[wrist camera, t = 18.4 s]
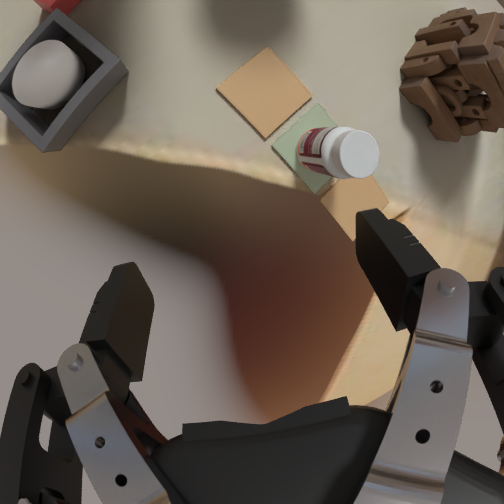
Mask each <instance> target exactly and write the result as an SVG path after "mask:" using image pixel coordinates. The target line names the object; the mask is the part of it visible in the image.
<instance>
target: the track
mask: <svg viewBox="0 0 504 504" xmlns="http://www.w3.org/2000/svg"><path fill="white" fill-rule="evenodd" d="M216 89H217V90H218V91H219V92H220V93H221V94H222V95H223V96H224V97H225V98H226V99H227V100H228V101H229V102H230V103H231V104H232V105H233V106H234V107H235V108H236V109H237V110H238V111H239V112H240V113H241V114H242V115H243V116H244V117H245V118H246V119H247V120H248V121H249V122H250V123H251V124H252V125H253V126H254V127H255V128H256V129H257V131H258V132H259V133H260V134H261V135H262V136H263V137H264V138H266V137H268V136H269V135H270V134H271V133H272V132H273V131H274V130H275V129H276V128H277V127H278V126H279V125H280V124H282V123H283V122H284V121H285V120H286V119H287V118H288V117H289V116H290V115H292V114H293V113H294V112H295V111H296V110H297V109H298V108H299V107H301V106H302V105H303V104H304V103H305V102H306V101H307V100H309V99H310V98H311V97H312V96H313V95H312V94H311V93H310V92H309V91H308V89H307V88H306V87H305V86H304V85H303V84H302V83H301V81H300V80H299V79H298V78H297V77H296V76H295V75H294V74H293V72H292V71H291V70H290V69H289V68H288V67H287V66H286V65H285V64H284V63H283V62H282V61H281V60H280V58H279V57H278V56H277V55H276V54H275V53H274V52H273V51H272V50H271V49H270V48H269V47H266V48H265V49H264V50H262V51H261V52H260V53H258V54H257V55H256V56H255V57H253V58H252V59H251V60H249V61H248V62H247V63H246V64H244V65H243V66H242V67H241V68H239V69H238V70H237V71H236V72H235V73H233V74H232V75H231V76H230V77H229V78H227V79H226V80H225V81H224V82H223V83H221V84H220V85H219V86H218V87H217V88H216ZM322 127H338V126H337V125H336V124H335V123H334V121H333V120H332V119H331V117H330V116H329V115H328V114H327V112H326V111H325V110H324V109H323V107H322V106H321V105H320V104H319V103H317V104H316V105H315V106H314V107H313V108H312V109H310V110H309V111H308V112H307V113H306V114H305V115H304V116H303V117H302V118H300V119H299V120H298V121H297V122H296V123H295V124H294V125H293V126H292V127H291V128H290V129H288V130H287V131H286V132H285V133H284V134H283V135H282V136H281V137H280V138H279V139H278V140H277V141H276V142H275V143H273V144H272V145H271V146H272V147H273V148H274V149H275V150H276V151H277V152H278V153H279V154H280V155H281V157H282V158H283V159H284V160H285V161H286V162H287V163H288V164H289V166H290V167H291V168H292V169H293V170H294V171H295V172H296V173H297V175H298V176H299V177H300V178H301V179H302V180H303V182H304V183H305V184H306V185H307V186H308V187H309V189H310V190H311V191H312V192H313V193H314V194H315V193H316V192H317V191H318V190H319V189H320V188H321V187H322V186H323V185H324V184H325V183H326V182H327V181H328V180H329V179H330V178H331V177H332V176H328V175H324V174H320V173H316V172H312V171H310V170H308V169H306V168H305V167H304V166H303V165H302V164H301V163H300V162H299V160H298V157H297V152H296V146H297V142H298V140H299V138H300V136H301V135H302V134H303V133H304V132H305V131H307V130H309V129H313V128H322ZM319 200H320V202H321V203H322V204H323V205H324V206H325V208H326V209H327V210H328V212H329V213H330V214H331V215H332V217H333V218H334V219H335V220H336V222H337V223H338V224H339V225H340V227H341V228H342V229H343V230H344V232H345V233H346V234H347V235H348V237H349V238H350V239H351V241H354V240H355V238H356V213H357V212H359V211H363V210H368V209H373V208H378V209H379V210H380V211H381V210H382V209H383V208H384V207H385V206H386V205H387V204H388V203H389V201H388V199H387V198H386V196H385V194H384V193H383V191H382V190H381V188H380V186H379V185H378V183H377V182H376V180H375V179H374V177H373V176H372V174H371V175H370V176H368V177H366V178H362V179H357V178H350V179H339V180H338V181H337V182H336V183H335V184H334V185H333V186H332V187H331V188H330V189H329V190H328V191H327V192H326V193H325V194H324V195H323V196H322V197H321V198H320V199H319Z"/></svg>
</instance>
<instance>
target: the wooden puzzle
mask: <svg viewBox="0 0 504 504" xmlns="http://www.w3.org/2000/svg"><path fill="white" fill-rule="evenodd" d="M415 37H416V38H417V39H418V42H415V43H414V45H413V46H412V48H411V49H410V51H409V52H408V53H407V55H406V56H405V59H406V61H405V62H404V64H403V65H402V66H401V68H400V70H401V71H402V73H403V74H404V75H405V76H406V78H407V79H405V80H404V82H403V83H402V85H401V86H400V88H399V90H400V91H401V92H402V93H403V95H404V96H405V97H406V98H407V100H408V101H409V102H410V103H412V104H416V105H418V106H420V107H422V108H423V109H424V110H426V111H427V112H428V114H429V115H430V116H431V118H432V119H431V121H430V123H429V125H428V128H429V130H430V131H431V132H432V134H433V135H434V137H435V138H436V140H443V141H451V142H458V141H459V139H460V137H461V135H463V136H470V135H474V134H477V133H478V132H480V131H489V132H497V130H498V128H504V14H503V13H498V14H497V12H491V13H485V14H477V13H476V11H475V10H474V9H472V10H467V9H466V7H464V8H460V9H456V10H451V11H448V12H447V13H445V14H442V15H440V17H437V18H434V19H433V20H432V22H431V23H430V25H429V26H428V27H426V28H423V29H419V31H418V32H417V33H416V35H415ZM482 91H484V92H485V93H486V94H487V95H486V94H480V93H481V92H482Z"/></svg>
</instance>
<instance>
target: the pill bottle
mask: <svg viewBox="0 0 504 504" xmlns="http://www.w3.org/2000/svg"><path fill="white" fill-rule="evenodd" d="M296 152H297V157H298V160H299V162H300V163H301V164H302V165H303V166H304V167H305V168H306V169H308V170H310V171H312V172H316V173H320V174H324V175H328V176H332V177H336V178H339V179H350V178H357V179H362V178H366V177H368V176H370V175H371V174H372V173H373V172H374V171H375V169H376V168H377V166H378V162H379V148H378V145H377V143H376V141H375V139H374V138H373V137H372V136H371V135H370V134H369V133H367V132H365V131H361V130H355V129H353V128H350V127H345V126H340V127H322V128H313V129H309V130H307V131H305V132H304V133H303V134H302V135H301V136H300V138H299V140H298V142H297V146H296Z"/></svg>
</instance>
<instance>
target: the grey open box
mask: <svg viewBox="0 0 504 504" xmlns="http://www.w3.org/2000/svg"><path fill="white" fill-rule="evenodd" d="M68 34H69V35H70V36H72V37H73V38H74V39H75V40H76V41H77V42H79V43H80V44H81V45H82V46H83V47H85V48H86V49H87V50H88V51H89V52H90V53H92V54H93V55H94V56H95V57H96V58H97V59H99V60H100V61H101V62H102V63H103V64H102V65H101V66H100V67H99V68H98V69H97V70H96V71H95V72H94V73H93V75H92V76H91V77H90V78H89V79H88V80H87V81H86V82H85V83H84V84H83V85H82V87H81V88H80V89H79V90H78V91H77V92H76V94H75V95H74V96H73V97H72V98H71V99H70V101H69V102H68V103H67V104H66V106H65V107H64V108H63V109H62V111H61V112H60V113H59V114H58V116H57V117H56V118H55V120H54V121H53V122H52V124H51V125H50V126H49V125H48V124H47V123H46V122H45V121H44V120H43V119H42V118H41V117H40V116H39V115H38V114H37V113H36V112H35V111H34V110H33V109H32V108H31V107H30V106H26V105H23V104H21V103H20V102H19V101H18V100H17V99H16V98H15V96H14V93H13V89H12V79H13V74H14V71H15V68H16V66H17V64H18V62H19V61H20V59H21V58H22V57H23V55H24V54H25V53H26V52H27V51H28V50H29V49H30V48H32V47H33V46H35V45H36V44H38V43H40V42H43V41H46V40H58V41H60V42H61V41H62V40H63V39H64V38H65V37H66V36H67V35H68ZM127 73H128V70H127V69H126V67H125V66H124V64H123V63H122V61H121V60H120V59H119V58H118V57H116V56H115V55H114V54H113V53H112V52H111V51H109V50H108V49H107V48H106V47H105V46H103V45H102V44H101V43H100V42H99V41H97V40H96V39H95V38H94V37H93V36H91V35H90V34H89V33H88V32H87V31H85V30H84V29H83V28H82V27H80V26H79V25H78V24H77V23H75V22H74V21H73V20H72V19H70V18H69V17H68V16H67V15H65V14H64V13H63V12H61V11H60V10H59V9H58V8H56V9H55V10H54V11H53V12H52V13H51V14H50V15H49V16H48V17H47V18H46V19H45V20H44V21H43V22H42V23H41V24H40V25H39V26H38V27H37V28H36V29H35V31H34V32H33V33H32V34H31V35H30V36H29V37H28V39H27V40H26V41H25V42H24V43H23V44H22V46H21V47H20V48H19V49H18V51H17V52H16V53H15V54H14V56H13V57H12V58H11V59H10V61H9V62H8V63H7V65H6V66H5V67H4V69H3V70H2V72H1V73H0V109H1V110H2V111H3V112H4V113H5V114H6V116H7V117H8V118H9V119H10V120H11V121H12V122H13V123H14V124H15V125H16V126H17V127H18V128H19V129H20V130H21V131H22V132H23V133H24V134H25V135H26V137H27V138H28V139H29V140H30V141H31V142H32V143H33V144H34V145H35V146H36V147H37V148H38V149H39V150H40V151H42V152H52V151H60V150H62V148H63V147H64V146H65V144H66V143H67V142H68V140H69V139H70V138H71V136H72V135H73V134H74V133H75V131H76V130H77V129H78V127H79V126H80V125H81V124H82V123H83V121H84V120H85V119H86V118H87V117H88V115H89V114H90V113H91V112H92V111H93V110H94V108H95V107H96V106H97V105H98V104H99V103H100V102H101V100H102V99H103V98H104V97H105V96H106V95H107V94H108V93H109V92H110V91H111V90H112V89H113V88H114V86H115V85H116V84H117V83H118V82H119V81H120V80H121V79H122V78H123V77H124V76H125V75H126V74H127Z"/></svg>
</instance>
